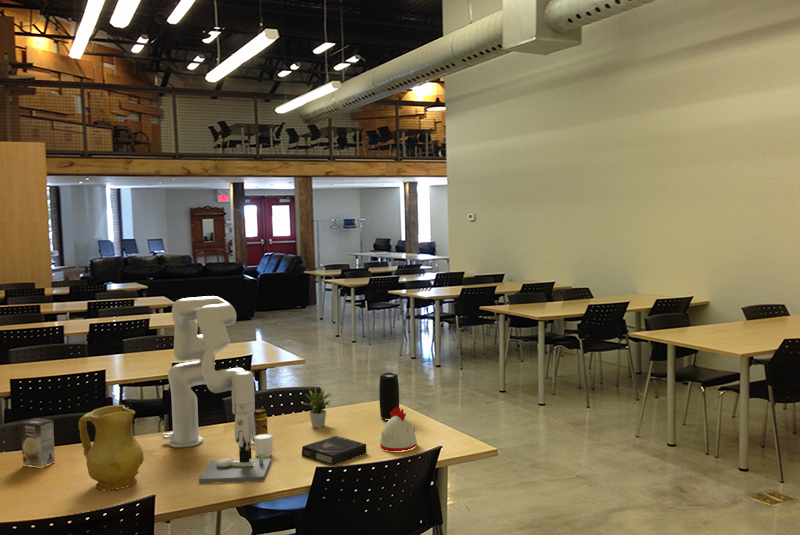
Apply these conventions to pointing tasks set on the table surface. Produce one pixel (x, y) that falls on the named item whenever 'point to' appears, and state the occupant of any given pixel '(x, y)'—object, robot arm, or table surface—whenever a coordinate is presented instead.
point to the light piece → (233, 462)
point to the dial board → (236, 472)
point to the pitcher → (111, 447)
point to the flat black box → (334, 450)
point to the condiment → (260, 422)
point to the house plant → (318, 408)
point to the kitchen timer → (398, 433)
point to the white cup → (263, 444)
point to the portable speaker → (388, 394)
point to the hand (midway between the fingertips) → (245, 459)
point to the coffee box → (38, 442)
